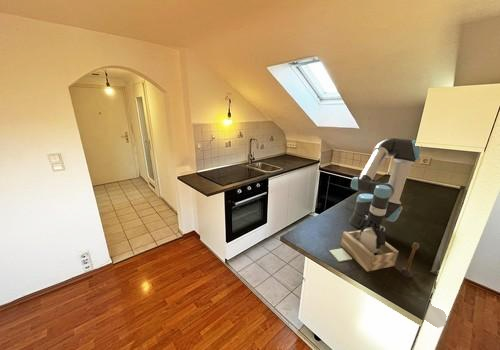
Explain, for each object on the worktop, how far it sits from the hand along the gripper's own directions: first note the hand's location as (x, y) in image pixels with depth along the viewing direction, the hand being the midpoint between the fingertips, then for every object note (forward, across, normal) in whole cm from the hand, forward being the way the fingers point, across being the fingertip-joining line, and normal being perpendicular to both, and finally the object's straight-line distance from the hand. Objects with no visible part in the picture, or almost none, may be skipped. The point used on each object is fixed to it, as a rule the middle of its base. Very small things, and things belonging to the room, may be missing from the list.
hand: (367, 246), depth 120 cm
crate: (+6, 0, 0) cm, 6 cm away
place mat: (+6, -3, -15) cm, 17 cm away
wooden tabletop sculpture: (+6, +17, +10) cm, 21 cm away
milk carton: (+5, 0, 0) cm, 5 cm away
